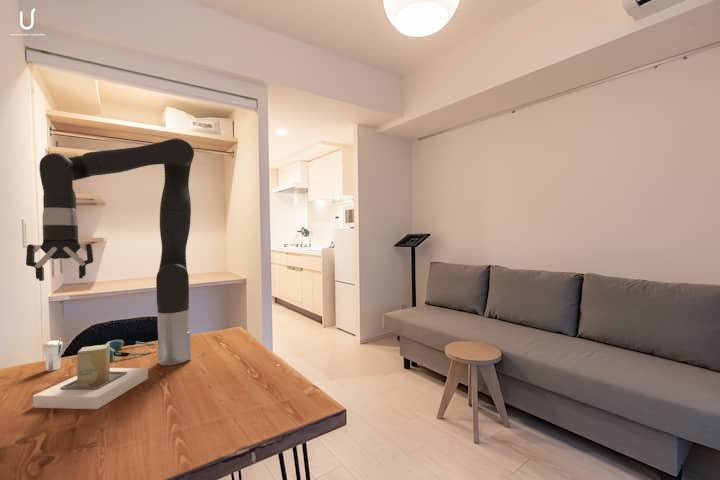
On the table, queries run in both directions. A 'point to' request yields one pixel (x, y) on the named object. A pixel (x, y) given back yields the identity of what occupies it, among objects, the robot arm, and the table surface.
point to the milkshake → (52, 354)
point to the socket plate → (90, 390)
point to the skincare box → (93, 366)
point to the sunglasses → (116, 346)
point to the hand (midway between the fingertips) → (61, 279)
